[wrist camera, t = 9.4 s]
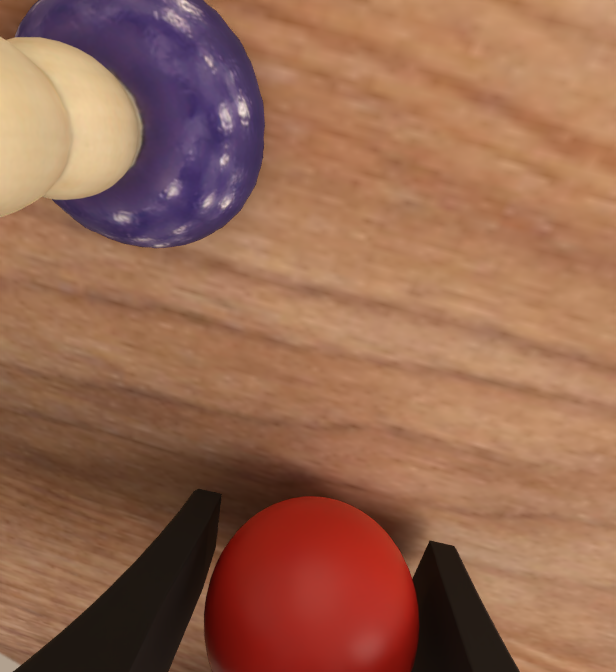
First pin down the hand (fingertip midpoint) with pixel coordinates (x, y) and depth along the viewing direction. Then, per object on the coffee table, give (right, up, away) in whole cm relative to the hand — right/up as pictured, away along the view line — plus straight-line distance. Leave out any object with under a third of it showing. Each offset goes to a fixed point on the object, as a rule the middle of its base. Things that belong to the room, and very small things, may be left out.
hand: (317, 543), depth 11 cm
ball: (0, -1, -2) cm, 2 cm away
